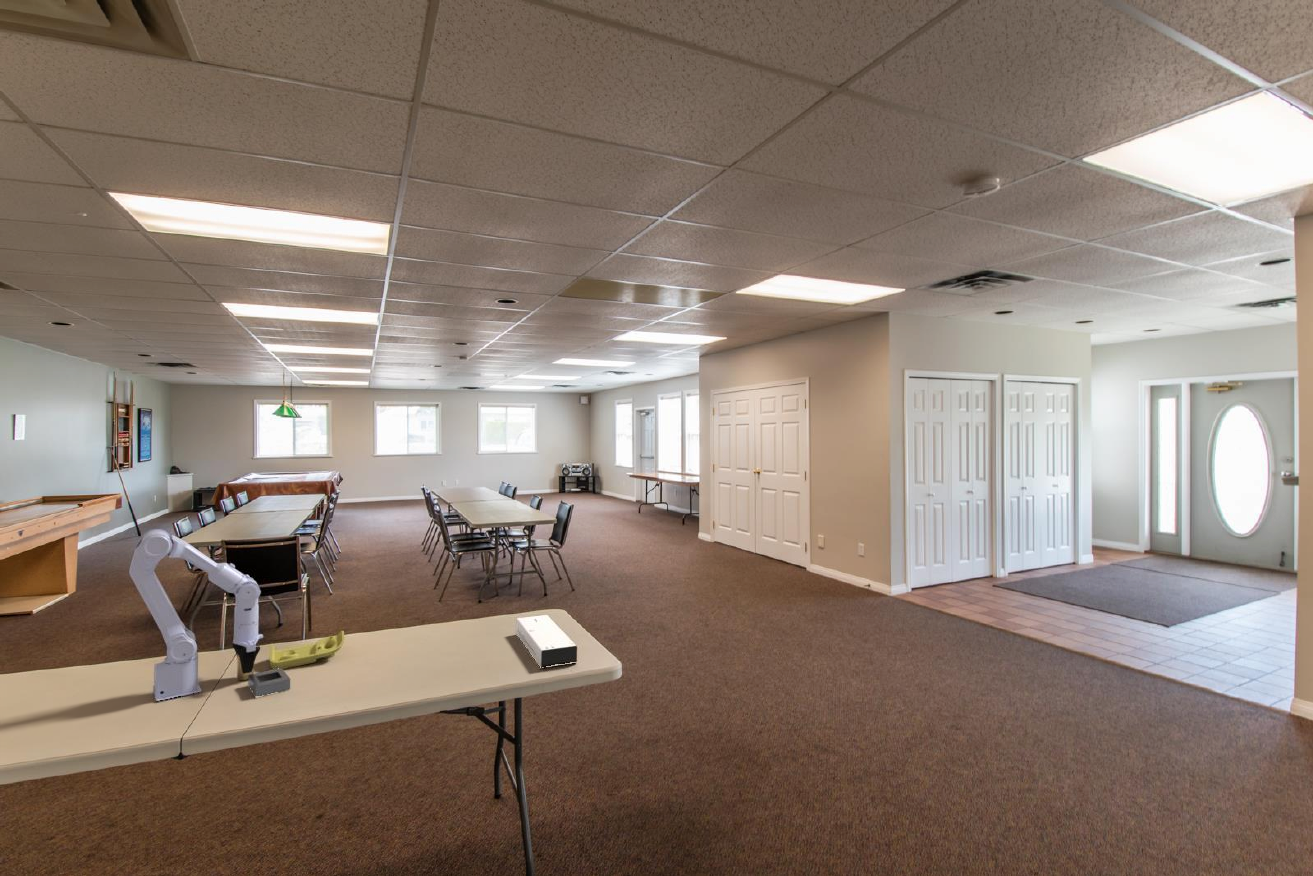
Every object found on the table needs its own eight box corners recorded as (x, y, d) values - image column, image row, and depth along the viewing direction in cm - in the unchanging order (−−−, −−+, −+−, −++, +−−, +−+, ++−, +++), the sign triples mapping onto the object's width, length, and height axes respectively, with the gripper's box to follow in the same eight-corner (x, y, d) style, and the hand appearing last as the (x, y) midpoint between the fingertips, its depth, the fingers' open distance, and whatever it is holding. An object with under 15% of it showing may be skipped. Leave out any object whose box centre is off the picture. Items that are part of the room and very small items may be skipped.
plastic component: (268, 664, 180) (270, 640, 187) (271, 682, 183) (273, 657, 191) (344, 649, 189) (343, 626, 196) (346, 666, 192) (345, 643, 200)
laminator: (515, 635, 216) (516, 618, 216) (550, 631, 221) (550, 614, 221) (541, 671, 185) (541, 650, 185) (580, 665, 190) (580, 645, 190)
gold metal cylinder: (238, 681, 172) (238, 656, 172) (235, 676, 175) (236, 652, 175) (255, 677, 174) (255, 652, 174) (252, 673, 177) (252, 648, 177)
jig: (255, 698, 163) (255, 687, 162) (248, 686, 170) (248, 675, 170) (290, 689, 168) (290, 678, 168) (281, 678, 175) (281, 667, 175)
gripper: (268, 625, 172) (267, 674, 172) (257, 613, 182) (256, 659, 183) (238, 631, 167) (237, 681, 167) (228, 618, 177) (228, 665, 178)
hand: (245, 670), depth 174 cm, fingers closed on gold metal cylinder, 4 cm apart
